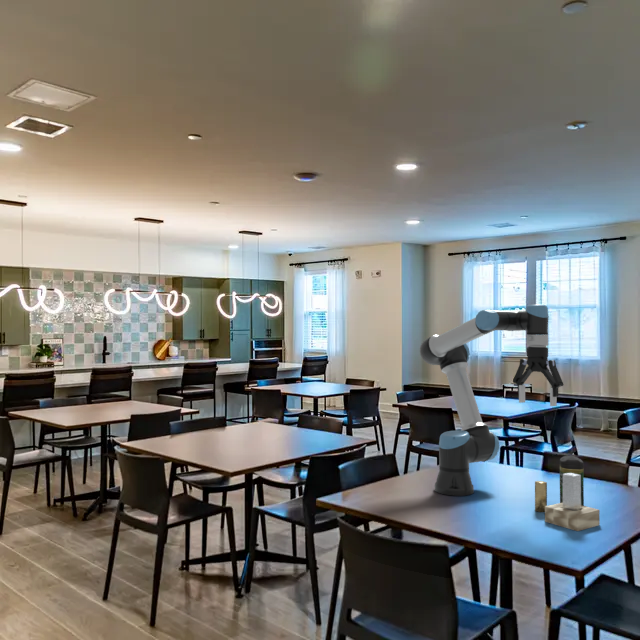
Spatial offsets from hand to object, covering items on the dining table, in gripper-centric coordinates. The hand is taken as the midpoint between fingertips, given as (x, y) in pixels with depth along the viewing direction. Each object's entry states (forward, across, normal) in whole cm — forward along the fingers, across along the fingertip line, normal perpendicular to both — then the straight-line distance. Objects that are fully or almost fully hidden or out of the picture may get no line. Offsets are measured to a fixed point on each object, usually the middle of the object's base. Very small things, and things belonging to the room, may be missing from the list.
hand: (537, 404), depth 227 cm
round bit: (+37, +6, -6) cm, 38 cm away
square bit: (+35, +21, -10) cm, 42 cm away
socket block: (+37, +21, -10) cm, 43 cm away
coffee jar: (+37, +10, +6) cm, 39 cm away
